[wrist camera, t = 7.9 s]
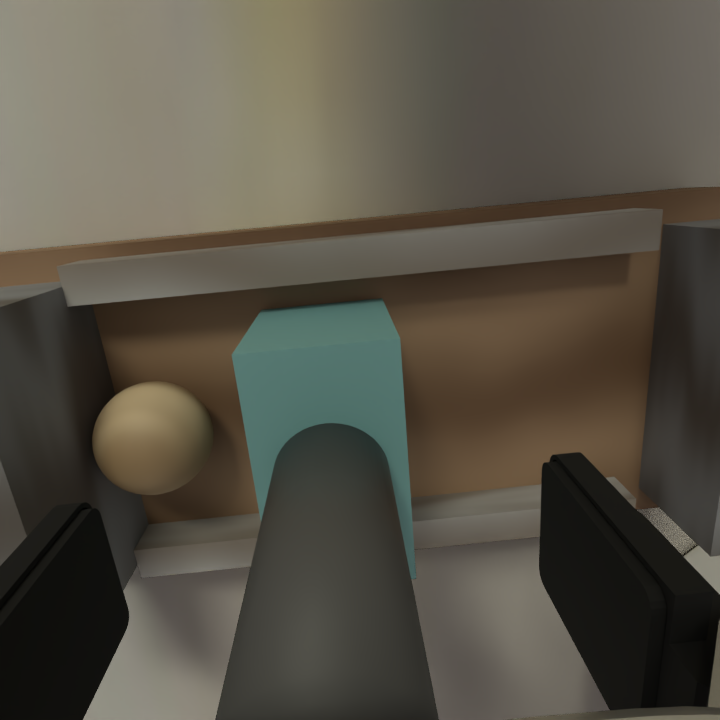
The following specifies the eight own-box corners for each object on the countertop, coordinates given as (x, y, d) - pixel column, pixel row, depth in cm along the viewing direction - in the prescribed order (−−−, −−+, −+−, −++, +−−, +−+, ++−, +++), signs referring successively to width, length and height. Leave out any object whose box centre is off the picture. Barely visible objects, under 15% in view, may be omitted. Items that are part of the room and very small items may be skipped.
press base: (-9, 253, 18) (-261, 294, 10) (686, 187, 18) (934, 181, 11) (79, 537, 22) (-60, 720, 14) (656, 477, 22) (824, 625, 14)
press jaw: (261, 309, 17) (100, 552, 5) (382, 298, 17) (479, 513, 5) (289, 493, 19) (217, 946, 7) (396, 482, 19) (486, 915, 8)
